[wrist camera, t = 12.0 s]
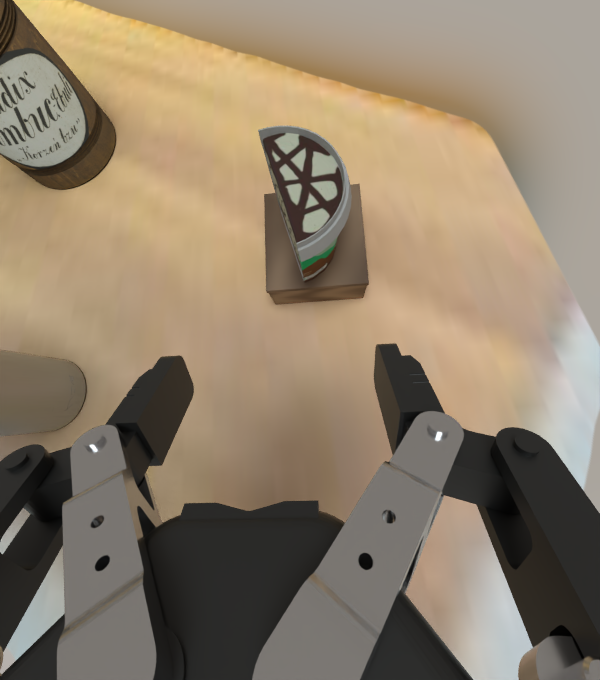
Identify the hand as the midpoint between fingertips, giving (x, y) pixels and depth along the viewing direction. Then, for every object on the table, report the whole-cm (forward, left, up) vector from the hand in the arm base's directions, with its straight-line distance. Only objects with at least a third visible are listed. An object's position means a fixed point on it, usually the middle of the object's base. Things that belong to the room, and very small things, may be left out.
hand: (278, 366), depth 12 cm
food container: (+2, +17, -19) cm, 25 cm away
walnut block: (+1, +17, -24) cm, 29 cm away
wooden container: (-36, +39, -24) cm, 58 cm away
